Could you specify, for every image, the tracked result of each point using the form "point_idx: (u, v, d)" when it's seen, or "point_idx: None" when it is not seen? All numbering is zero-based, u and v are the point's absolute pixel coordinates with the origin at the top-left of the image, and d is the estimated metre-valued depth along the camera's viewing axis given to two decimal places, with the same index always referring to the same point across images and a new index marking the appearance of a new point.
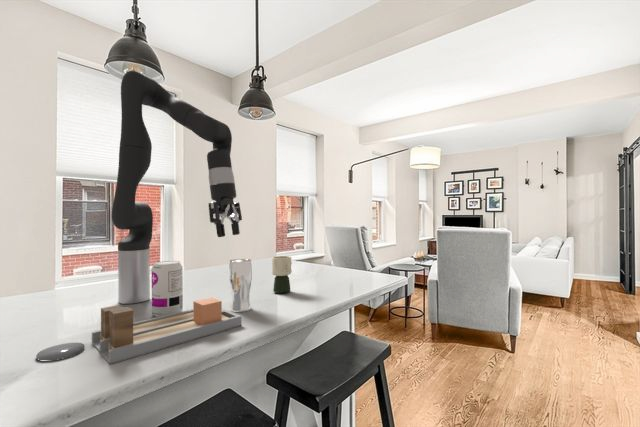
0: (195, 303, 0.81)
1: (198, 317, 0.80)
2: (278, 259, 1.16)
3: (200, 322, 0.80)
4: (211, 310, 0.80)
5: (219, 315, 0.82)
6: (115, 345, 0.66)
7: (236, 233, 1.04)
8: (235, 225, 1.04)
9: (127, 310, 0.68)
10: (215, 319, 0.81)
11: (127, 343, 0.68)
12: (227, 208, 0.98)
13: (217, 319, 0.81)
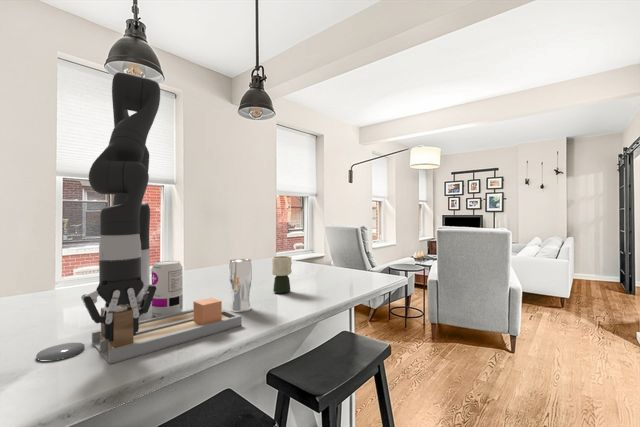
0: (195, 303, 0.81)
1: (198, 317, 0.80)
2: (278, 259, 1.16)
3: (200, 322, 0.80)
4: (211, 310, 0.80)
5: (219, 315, 0.82)
6: (115, 345, 0.66)
7: None
8: None
9: (127, 310, 0.68)
10: (215, 319, 0.81)
11: (127, 343, 0.68)
12: (114, 297, 0.66)
13: (217, 319, 0.81)
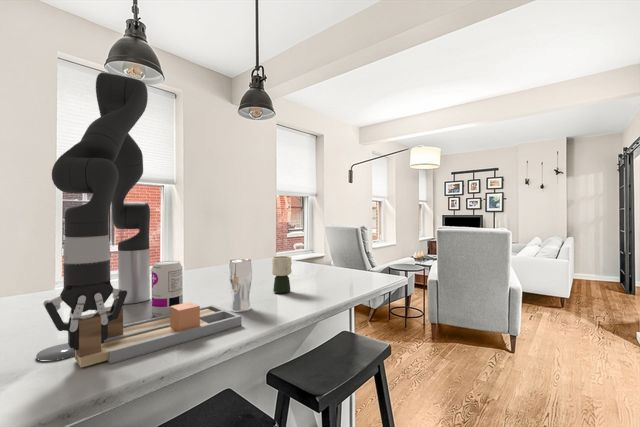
0: (172, 308, 0.77)
1: (175, 322, 0.76)
2: (278, 259, 1.16)
3: (176, 328, 0.75)
4: (188, 315, 0.76)
5: (197, 321, 0.78)
6: (81, 354, 0.62)
7: None
8: None
9: (94, 316, 0.64)
10: (193, 325, 0.77)
11: (94, 352, 0.64)
12: (80, 303, 0.62)
13: (195, 325, 0.77)
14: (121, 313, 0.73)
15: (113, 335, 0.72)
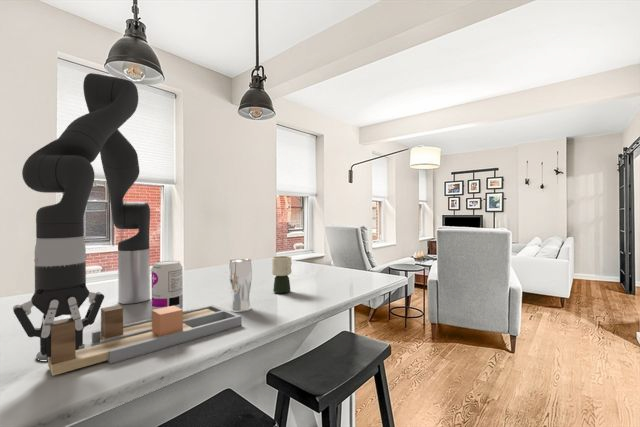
0: (153, 312, 0.74)
1: (156, 327, 0.73)
2: (278, 259, 1.16)
3: (158, 333, 0.72)
4: (170, 320, 0.73)
5: (180, 325, 0.75)
6: (53, 361, 0.59)
7: None
8: None
9: (68, 322, 0.61)
10: (175, 329, 0.74)
11: (68, 359, 0.61)
12: (52, 308, 0.59)
13: (177, 329, 0.74)
14: (121, 313, 0.73)
15: (113, 335, 0.72)
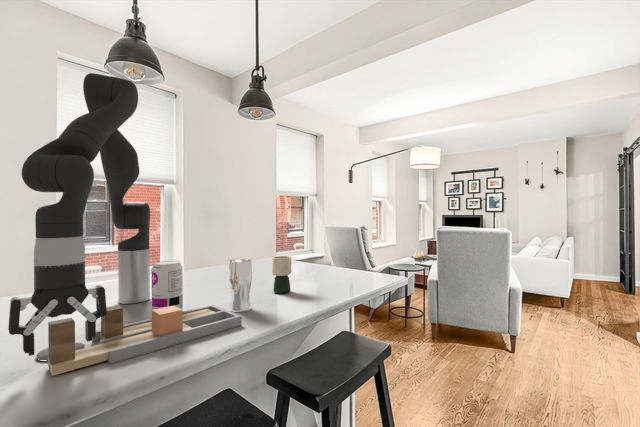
0: (153, 312, 0.74)
1: (156, 327, 0.73)
2: (278, 259, 1.16)
3: (157, 333, 0.72)
4: (170, 320, 0.73)
5: (180, 325, 0.75)
6: (52, 361, 0.59)
7: (86, 339, 0.64)
8: (87, 326, 0.64)
9: (68, 322, 0.61)
10: (175, 330, 0.74)
11: (67, 359, 0.61)
12: (48, 307, 0.59)
13: (177, 329, 0.74)
14: (121, 313, 0.73)
15: (113, 335, 0.72)
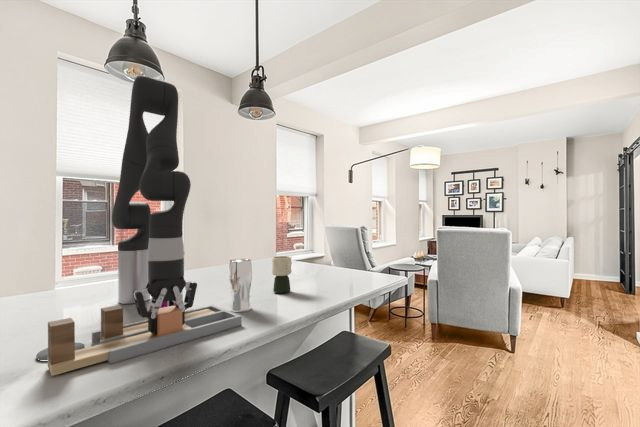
0: None
1: None
2: (278, 259, 1.16)
3: (157, 333, 0.72)
4: (170, 320, 0.73)
5: (179, 325, 0.75)
6: (52, 361, 0.59)
7: None
8: None
9: (68, 322, 0.61)
10: (174, 330, 0.74)
11: (67, 359, 0.60)
12: (162, 295, 0.73)
13: (177, 330, 0.74)
14: (121, 313, 0.73)
15: (113, 335, 0.72)
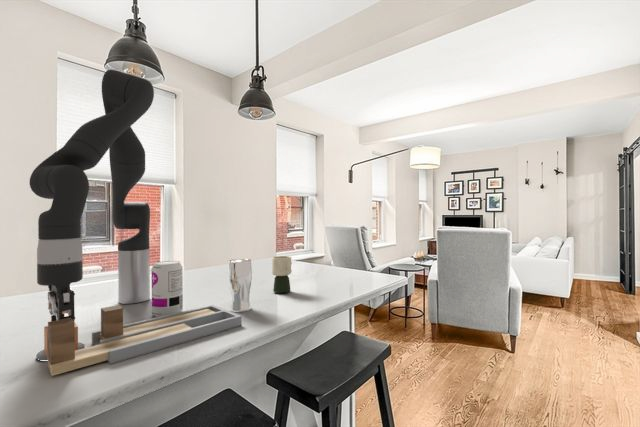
0: None
1: None
2: (278, 259, 1.16)
3: None
4: (45, 337, 0.67)
5: (46, 349, 0.66)
6: (52, 361, 0.59)
7: None
8: None
9: (68, 322, 0.61)
10: (46, 351, 0.66)
11: (67, 359, 0.60)
12: (48, 297, 0.69)
13: (46, 352, 0.66)
14: (121, 313, 0.73)
15: (113, 335, 0.72)
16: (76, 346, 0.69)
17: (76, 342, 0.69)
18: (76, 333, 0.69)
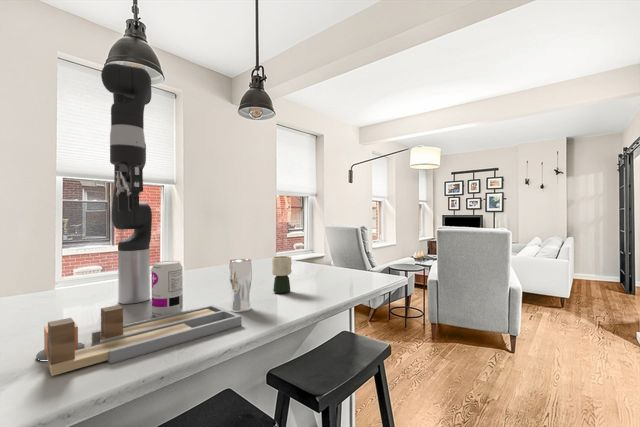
0: None
1: None
2: (278, 259, 1.16)
3: None
4: (45, 337, 0.67)
5: (46, 349, 0.66)
6: (52, 361, 0.59)
7: None
8: None
9: (68, 322, 0.61)
10: (46, 351, 0.66)
11: (67, 359, 0.60)
12: None
13: (46, 352, 0.66)
14: (121, 313, 0.73)
15: (113, 335, 0.72)
16: (76, 346, 0.69)
17: (76, 342, 0.69)
18: (76, 333, 0.69)
